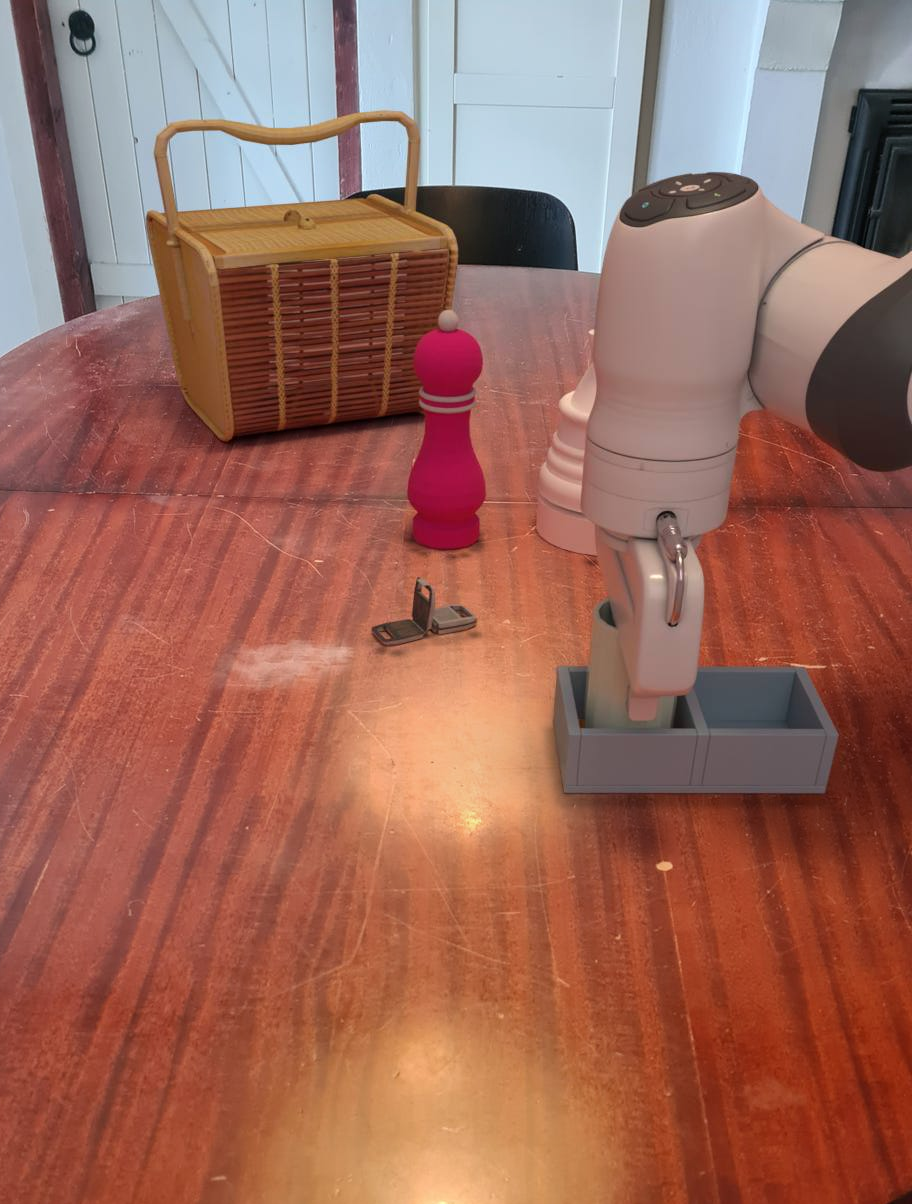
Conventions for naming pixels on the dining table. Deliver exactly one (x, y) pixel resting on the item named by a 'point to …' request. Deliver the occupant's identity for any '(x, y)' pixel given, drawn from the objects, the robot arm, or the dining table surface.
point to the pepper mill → (447, 439)
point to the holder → (703, 737)
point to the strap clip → (426, 618)
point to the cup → (613, 680)
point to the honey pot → (568, 473)
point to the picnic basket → (299, 295)
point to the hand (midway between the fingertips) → (632, 686)
